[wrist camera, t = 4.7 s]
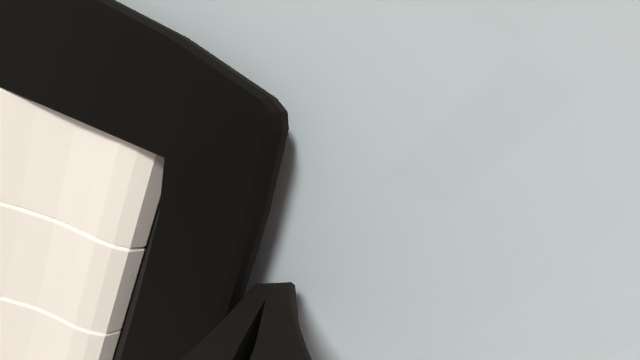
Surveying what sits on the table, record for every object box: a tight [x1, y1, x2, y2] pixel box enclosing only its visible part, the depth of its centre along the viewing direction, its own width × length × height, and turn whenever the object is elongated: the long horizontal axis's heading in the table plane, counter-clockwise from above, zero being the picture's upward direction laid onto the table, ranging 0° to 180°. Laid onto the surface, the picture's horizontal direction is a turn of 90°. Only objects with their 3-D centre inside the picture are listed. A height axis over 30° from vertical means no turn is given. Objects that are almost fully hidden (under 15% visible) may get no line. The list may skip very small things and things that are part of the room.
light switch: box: [0, 0, 289, 360], centre depth 11 cm, size 20×3×14 cm
